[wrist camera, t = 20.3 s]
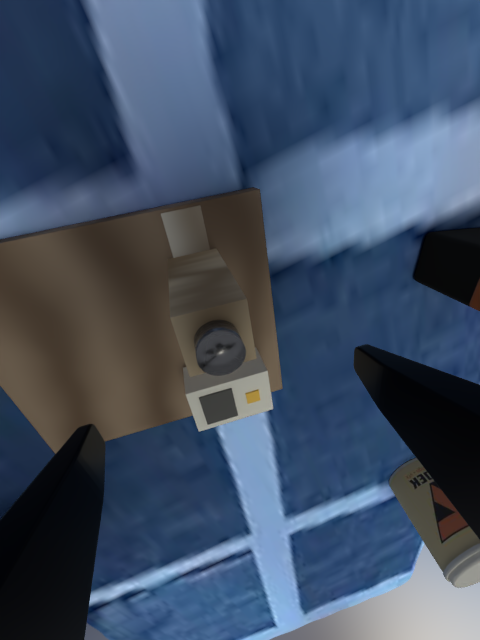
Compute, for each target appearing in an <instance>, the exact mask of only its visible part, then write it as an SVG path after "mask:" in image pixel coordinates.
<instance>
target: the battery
mask: <svg viewBox="0 0 480 640" xmlns="http://www.w3.org/2000/svg"><path fill="white" fill-rule="evenodd" d="M414 279H415V280H416V281H417V282H419V283H421V284H423V285H425V286H428V287H430V288H432V289H434V290H436V291H438V292H440V293H442V294H444V295H447V296H449V297H451V298H453V299H455V300H457V301H459V302H461V303H463V304H466V305H468V306H470V307H472V308H474V309H476V310H478V311H480V228H471V229H460V230H449V231H438V232H431V233H429V234H427V236H426V238H425V242H424V245H423V249H422V252H421V256H420V259H419V262H418V266H417V269H416V273H415V277H414Z"/></svg>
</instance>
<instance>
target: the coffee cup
mask: <svg viewBox="0 0 480 640" xmlns="http://www.w3.org/2000/svg"><path fill="white" fill-rule="evenodd" d="M389 485H390V487H391V489H392V491H393V492H394V494H395V496H396V497H397V499H398V501H399V502H400V504H401V506H402V507H403V509H404V510H405V512H406V514H407V515H408V517H409V519H410V520H411V522H412V524H413V525H414V527H415V528H416V530H417V532H418V533H419V535H420V536H421V538H422V540H423V541H424V543H425V545H426V546H427V548H428V549H429V551H430V553H431V554H432V556H433V557H434V559H435V560H436V562H437V564H438V565H439V567H440V568H441V570H442V571H443V575H444V577H445V578H446V580H447V581H449V582H451V583H452V585H453V586H455V587H457V588H461V587H467V586H470V585H473V584H476V583H478V582H480V540H479V538H478V537H477V536H476V534H475V533H474V532H473V530H472V529H471V528H470V527H469V525H468V524H467V523H466V521H465V520H464V519H463V517H462V516H461V515H460V514H459V512H458V511H457V510H456V508H455V507H454V506H453V504H452V503H451V502H450V501H449V499H448V498H447V497H446V495H445V494H444V493H443V492H442V490H441V489H440V488H439V486H438V485H437V484H436V482H435V481H434V480H433V479H432V477H431V476H430V475H429V473H428V472H427V471H426V469H425V468H424V467H423V466H422V464H421V463H420V462H419V460H418V459H417V458H414V459H412V460H410V461H408V462H406V463H404V464H403V465H401V466H400V467H399V468H398V469H397V470H396V471H395V472H394V473H393V474H392V476H391V477H390V480H389Z"/></svg>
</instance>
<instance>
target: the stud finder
mask: <svg viewBox="0 0 480 640" xmlns="http://www.w3.org/2000/svg"><path fill="white" fill-rule="evenodd" d="M255 352H256V358H257V359H254V360H250V361H247V362H243V363H242V365H241V366H240V367H239V368H238V369H237V370H235V371H234V372H232V373H229V374H227V375H222V376H214V375H210V374H207V373H203V374H200V375H196V376H193V377H190V376H189V373H188V370H187V367H184V368H183V374H184V384H185V394H186V397H187V400H188V403H189V406H190V408H191V411H192V414H193V417H194V419H195V422H196V425H197V428H198V431H203V430H206V429H209V428H212V427H216V426H219V425H222V424H226V423H229V422H232V421H235V420H239V419H242V418H245V417H248V416H252V415H255V414H258V413H262V412H265V411H268V410H271V409H273V404H272V398H271V391H270V384H269V377H268V370H267V368H266V366H265V364H264V362H263V360H262V358H261V356H260V354H259V352H258V350H257V348H255Z"/></svg>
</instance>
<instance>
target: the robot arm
mask: <svg viewBox="0 0 480 640" xmlns="http://www.w3.org/2000/svg"><path fill="white" fill-rule="evenodd" d="M354 369H355V371H356V373H357V375H358V376H359V378H360V380H361V381H362V383H363V384H364V386H365V388H366V389H367V391H368V393H369V394H370V396H371V397H372V399H373V401H374V402H375V404H376V405H377V407H378V408H379V410H380V411H381V412H382V414H383V415H384V416H385V418H386V419H387V420H388V421H389V423H390V424H391V425H392V427H393V428H394V429H395V431H396V432H397V433H398V434H399V436H400V437H401V438H402V440H403V441H404V442H405V444H406V445H407V446H408V447H409V449H410V450H411V451H412V453H413V454H414V455H415V456H416V458H417V459H418V460H419V462H420V463H421V464H422V466H423V467H424V468H425V469H426V471H427V472H428V473H429V475H430V476H431V477H432V479H433V480H434V481H435V482H436V484H437V485H438V486H439V488H440V489H441V490H442V492H443V493H444V494H445V495H446V497H447V498H448V499H449V501H450V502H451V503H452V504H453V506H454V507H455V508H456V510H457V511H458V512H459V514H460V515H461V516H462V517H463V519H464V520H465V521H466V523H467V524H468V525H469V527H470V528H471V529H472V530H473V532H474V533H475V534H476V536H477V537H478V538H479V540H480V385H479V384H476V383H473V382H470V381H468V380H465V379H462V378H459V377H457V376H454V375H451V374H448V373H445V372H443V371H440V370H437V369H434V368H432V367H429V366H426V365H423V364H421V363H418V362H415V361H412V360H409V359H407V358H404V357H401V356H398V355H396V354H393V353H390V352H387V351H385V350H382V349H379V348H376V347H374V346H371V345H368V344H365V345H361V346H358V347H356V348H355V351H354ZM104 477H105V441H104V439H103V437H102V436H101V434H100V433H99V431H98V429H97V428H96V426H95V425H94V424H87V425H83V426H80V427H78V428H77V429H76V430H75V432H74V433H73V434H72V435H71V436H70V438H69V439H68V440H67V441H66V442H65V443H64V445H63V446H62V447H61V448H60V449H59V451H58V452H57V453H56V454H55V455H54V457H53V458H52V459H51V460H50V461H49V462H48V464H47V465H46V466H45V467H44V468H43V470H42V471H41V472H40V473H39V474H38V476H37V477H36V478H35V479H34V480H33V481H32V483H31V484H30V485H29V486H28V487H27V489H26V490H25V491H24V492H23V493H22V495H21V496H20V497H19V498H18V499H17V500H16V502H15V503H14V504H13V505H12V506H11V508H10V509H9V510H8V511H7V512H6V514H5V515H4V516H3V517H2V518H1V519H0V640H84V637H85V630H86V622H87V615H88V608H89V601H90V593H91V586H92V579H93V571H94V564H95V557H96V550H97V542H98V535H99V528H100V520H101V513H102V506H103V497H104Z"/></svg>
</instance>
